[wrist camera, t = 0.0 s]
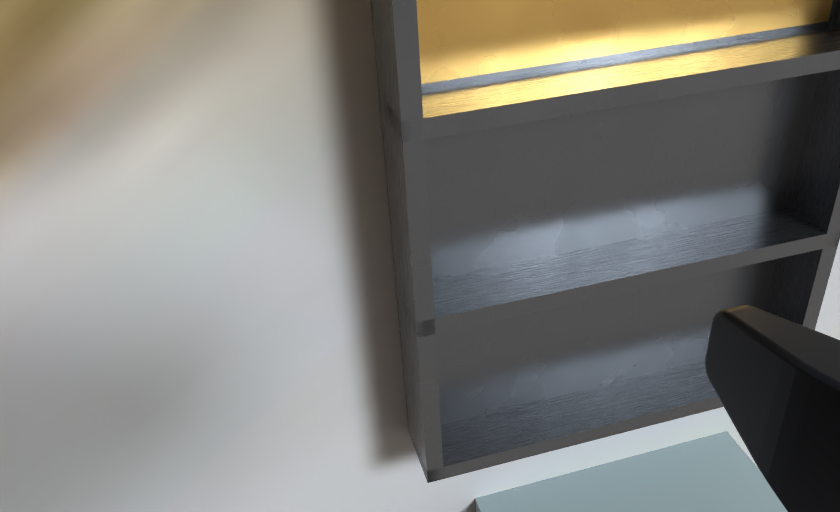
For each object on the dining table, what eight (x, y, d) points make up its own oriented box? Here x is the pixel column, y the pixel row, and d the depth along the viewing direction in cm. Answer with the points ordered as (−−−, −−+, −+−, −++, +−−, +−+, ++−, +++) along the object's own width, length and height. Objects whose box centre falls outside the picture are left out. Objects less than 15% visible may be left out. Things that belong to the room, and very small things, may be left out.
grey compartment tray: (757, 347, 33) (798, 387, 31) (409, 431, 30) (427, 482, 28) (889, -227, 22) (966, -225, 20) (354, -182, 19) (379, -174, 17)
